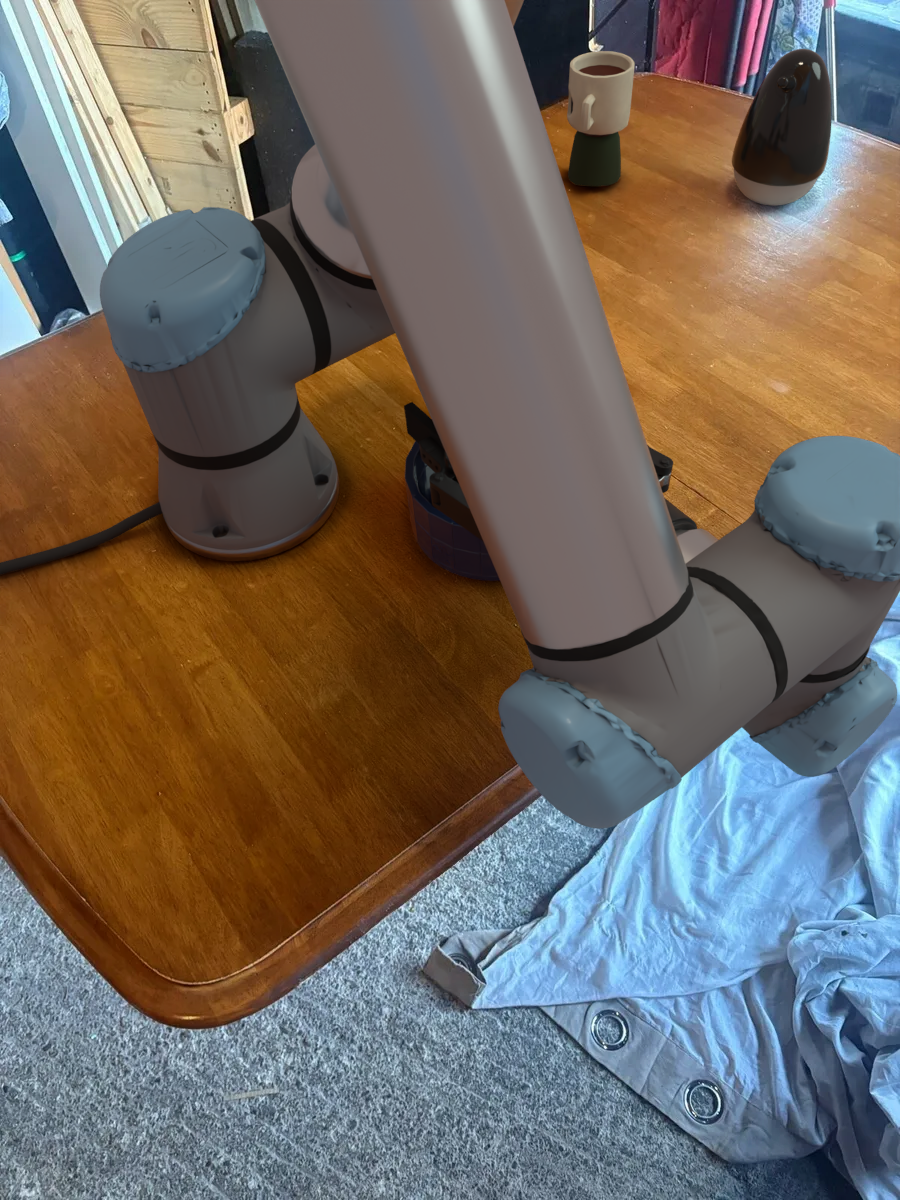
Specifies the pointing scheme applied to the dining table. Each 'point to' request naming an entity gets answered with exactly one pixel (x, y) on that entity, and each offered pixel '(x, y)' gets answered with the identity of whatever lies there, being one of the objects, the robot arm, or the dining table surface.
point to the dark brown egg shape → (785, 131)
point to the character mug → (598, 115)
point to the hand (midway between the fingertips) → (455, 394)
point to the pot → (442, 527)
